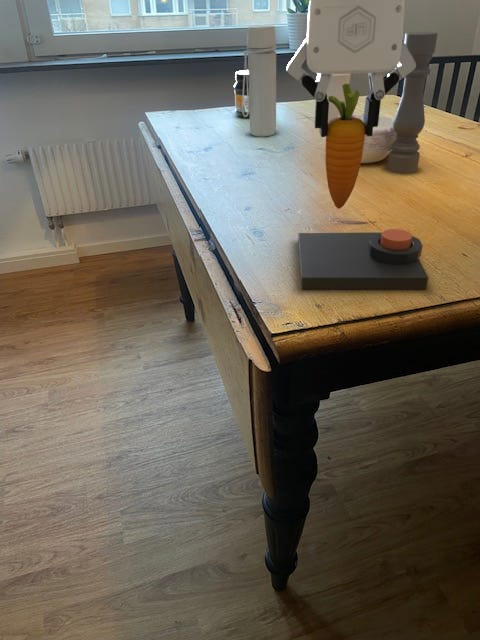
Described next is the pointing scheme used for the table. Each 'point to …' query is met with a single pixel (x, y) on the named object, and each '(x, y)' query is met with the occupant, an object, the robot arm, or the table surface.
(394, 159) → the candle holder
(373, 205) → the table surface
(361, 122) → the carrot
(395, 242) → the button
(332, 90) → the coffee cup
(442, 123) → the table surface
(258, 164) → the table surface
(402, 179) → the table surface
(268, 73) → the water bottle
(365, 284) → the black push button box
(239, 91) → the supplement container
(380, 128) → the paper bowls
